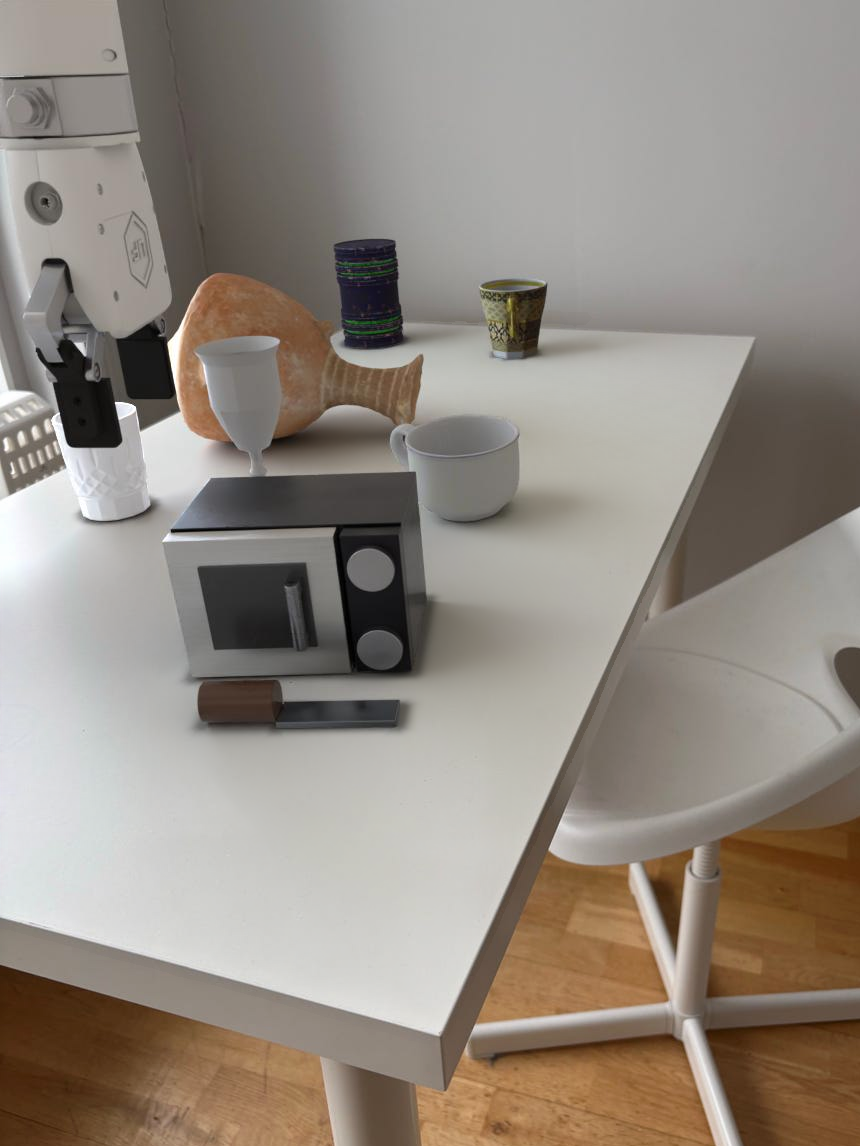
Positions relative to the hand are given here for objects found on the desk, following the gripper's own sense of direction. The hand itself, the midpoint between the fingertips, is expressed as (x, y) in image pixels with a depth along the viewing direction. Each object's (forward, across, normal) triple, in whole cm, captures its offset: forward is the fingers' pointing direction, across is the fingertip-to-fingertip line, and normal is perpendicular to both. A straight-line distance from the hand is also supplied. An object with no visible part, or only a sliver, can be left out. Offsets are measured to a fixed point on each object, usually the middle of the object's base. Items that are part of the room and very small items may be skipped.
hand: (125, 420), depth 64 cm
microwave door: (+19, 0, -7) cm, 20 cm away
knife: (+19, -5, -10) cm, 22 cm away
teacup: (+19, +32, -18) cm, 41 cm away
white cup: (+20, +34, +17) cm, 43 cm away
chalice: (+20, +25, -1) cm, 32 cm away
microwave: (+19, +6, -9) cm, 22 cm away
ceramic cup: (+19, +91, -22) cm, 96 cm away
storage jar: (+20, +104, +1) cm, 106 cm away
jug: (+20, +55, +3) cm, 58 cm away
